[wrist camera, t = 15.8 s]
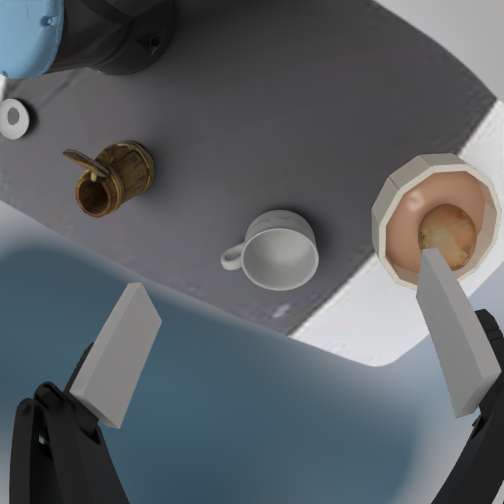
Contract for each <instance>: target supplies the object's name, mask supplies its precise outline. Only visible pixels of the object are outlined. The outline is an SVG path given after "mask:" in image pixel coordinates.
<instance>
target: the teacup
mask: <svg viewBox="0 0 504 504" xmlns="http://www.w3.org/2000/svg"><path fill="white" fill-rule="evenodd" d="M240 253H241V255H240V257H238V258H237V259H235V260H231V261H229V260H230V259H231V258H232V257H234V256H236V255H238V254H240ZM318 262H319V255H318V250H317V247H316V241H315V237H314V234H313V231H312V229H311V227H310V225H309V224H308V222H307V221H306V220H305V219H304V218H302V217H301V216H300V215H298V214H296V213H294V212H291V211H287V210H273V211H268V212H266V213H263V214H262V215H260V216H259V217H257V218H256V219H255V220H254V221H253V222H252V223H251V225H250V227H249V228H248V231H247V233H246V236H245V241H244V242H243V243H242V244H239V245H237V246H234V247H232V248H230V249H228V250H227V251H226V252H224V253H223V254H222V256H221V263H222V265H223V267H224V268H225V269H227V270H236V269H238V268H240V267H242V268H243V270H244V272H245V274H246V275H247V276H248V277H249V279H250V280H251V281H253V282H254V283H255V284H257V285H259V286H261V287H263V288H266V289H270V290H277V291H282V290H290V289H294V288H297V287H299V286H301V285H303V284H305V283H306V282H307V281H309V280H310V279H311V278H312V276H313V275H314V274H315V272H316V270H317V267H318Z"/></svg>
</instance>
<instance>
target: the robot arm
mask: <svg viewBox="0 0 504 504" xmlns="http://www.w3.org/2000/svg"><path fill="white" fill-rule="evenodd" d="M175 23H176V12H175V7H174V4H173V1H172V0H0V74H1V75H3V76H5V77H9V78H13V79H20V78H36V77H39V76H42V75H43V74H48V73H53V72H58V71H64V70H70V69H76V68H83V67H89V68H92V69H93V70H95V71H97V72H99V73H102V74H106V75H123V74H130V73H134V72H137V71H139V70H141V69H143V68H145V67H147V66H148V65H150V64H151V63H153V62H154V61H155V60H156V59H157V58H158V57H159V56H160V55H161V54H162V53H163V51H164V50H165V49H166V47H167V46H168V44H169V42H170V40H171V38H172V35H173V32H174V29H175ZM416 298H417V301H418V303H419V306H420V308H421V311H422V313H423V316H424V319H425V321H426V324H427V327H428V329H429V332H430V335H431V337H432V341H433V343H434V346H435V349H436V352H437V355H438V358H439V361H440V364H441V368H442V371H443V374H444V377H445V381H446V384H447V387H448V391H449V394H450V398H451V402H452V406H453V409H454V413H455V417H456V418H459V417H462V416H465V415H468V414H472V413H474V411H475V410H476V409H477V407H478V406H479V408H480V411H481V414H480V415H479V417H478V418H477V419H476V420H475V422H474V423H473V424H472V426H474V429H473V431H472V433H471V435H470V437H469V439H468V441H467V443H466V445H465V447H464V449H463V451H462V453H461V455H460V457H459V459H458V461H457V462H456V464H455V466H454V468H453V469H452V471H451V473H450V474H449V476H448V478H447V480H446V481H445V483H444V485H443V486H442V488H441V489H440V491H439V492H438V494H437V496H436V497H435V499H434V500H433V501H432V503H431V504H492V502H493V500H494V499H495V497H496V495H497V493H498V491H499V488H500V486H501V485H502V482H503V480H504V338H503V334H502V332H501V330H499V326H498V324H497V322H496V321H495V318H494V317H493V316H492V315H491V314H490V313H489V312H488V311H486V309H482V310H477V311H474V310H473V308H472V306H471V304H470V303H469V301H468V299H467V297H466V295H465V293H464V291H463V290H462V288H461V286H460V284H459V282H458V281H457V279H456V277H455V276H454V274H453V272H452V270H451V269H450V267H449V265H448V264H447V262H446V261H445V259H444V257H443V256H442V254H441V252H440V251H439V249H438V248H430V249H423V250H422V256H421V265H420V273H419V280H418V287H417V294H416ZM161 323H162V320H161V319H160V317H159V315H158V313H157V312H156V310H155V308H154V306H153V304H152V302H151V300H150V298H149V297H148V295H147V293H146V291H145V289H144V287H143V285H142V283H141V282H140V283H139V282H138V283H129V284H128V286H127V287H126V289H125V291H124V292H123V294H122V296H121V297H120V299H119V301H118V302H117V304H116V306H115V308H114V309H113V311H112V313H111V314H110V316H109V318H108V320H107V321H106V323H105V325H104V327H103V328H102V330H101V332H100V334H99V336H98V338H97V339H96V341H95V343H91V344H90V345H89V347H88V348H87V349H86V350H85V351H84V353H83V355H82V356H81V358H80V361H79V362H78V364H77V366H76V367H77V368H75V370H74V372H73V373H72V375H71V377H70V380H69V381H68V383H67V385H66V387H65V389H64V391H63V393H62V392H61V391H60V390H59V389H58V388H57V387H56V386H55V385H54V384H53V383H52V382H44V383H42V384H41V385H40V386H39V387H38V388H37V389H36V391H35V393H34V397H33V399H31V398H26V399H24V400H22V401H21V402H20V403H19V405H18V407H17V410H16V416H15V422H14V430H13V439H12V449H11V461H10V483H9V504H130V503H129V501H128V499H127V497H126V494H125V492H124V490H123V488H122V485H121V483H120V481H119V478H118V475H117V473H116V470H115V468H114V465H113V463H112V460H111V458H110V455H109V452H108V449H107V446H106V443H105V440H104V437H103V434H102V431H101V428H100V427H99V426H98V424H97V423H98V421H99V420H100V421H102V422H103V423H104V424H105V425H106V426H110V427H114V428H119V429H120V427H121V424H122V421H123V418H124V416H125V413H126V410H127V408H128V405H129V402H130V400H131V397H132V395H133V392H134V389H135V387H136V384H137V382H138V379H139V376H140V374H141V372H142V369H143V366H144V364H145V362H146V359H147V356H148V354H149V351H150V349H151V347H152V344H153V342H154V339H155V337H156V335H157V332H158V330H159V328H160V325H161ZM39 436H40V437H41V438H43V439H44V443H43V444H42V443H40V442H39ZM503 504H504V502H503Z"/></svg>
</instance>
